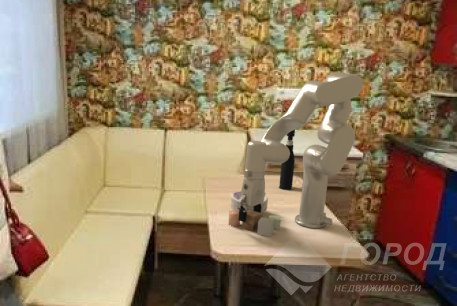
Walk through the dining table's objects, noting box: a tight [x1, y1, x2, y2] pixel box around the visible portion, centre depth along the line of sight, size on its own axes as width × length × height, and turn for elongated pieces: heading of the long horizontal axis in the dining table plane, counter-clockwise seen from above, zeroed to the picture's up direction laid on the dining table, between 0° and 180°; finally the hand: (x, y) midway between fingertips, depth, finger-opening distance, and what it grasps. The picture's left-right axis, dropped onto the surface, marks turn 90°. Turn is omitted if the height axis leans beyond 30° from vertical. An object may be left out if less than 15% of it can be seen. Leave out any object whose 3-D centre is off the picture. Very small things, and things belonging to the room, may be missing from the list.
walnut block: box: [241, 210, 262, 232], centre depth 160 cm, size 5×5×6 cm
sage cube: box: [268, 215, 281, 230], centre depth 162 cm, size 4×4×4 cm
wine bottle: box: [278, 129, 296, 191], centre depth 209 cm, size 6×6×30 cm
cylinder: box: [228, 209, 241, 228], centre depth 162 cm, size 4×4×5 cm
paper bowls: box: [229, 190, 269, 214], centre depth 173 cm, size 15×15×8 cm
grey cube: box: [256, 216, 275, 237], centre depth 156 cm, size 5×5×5 cm
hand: (249, 217), depth 159 cm, fingers open, 9 cm apart
